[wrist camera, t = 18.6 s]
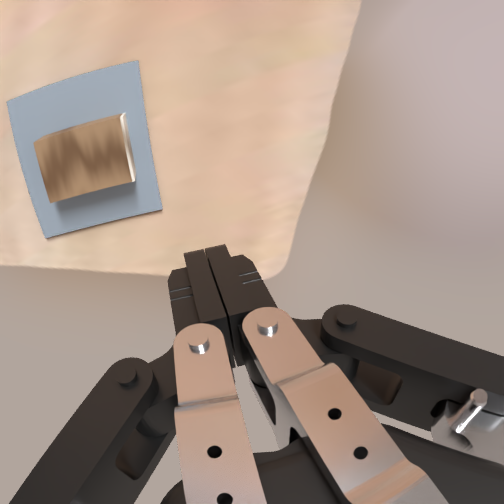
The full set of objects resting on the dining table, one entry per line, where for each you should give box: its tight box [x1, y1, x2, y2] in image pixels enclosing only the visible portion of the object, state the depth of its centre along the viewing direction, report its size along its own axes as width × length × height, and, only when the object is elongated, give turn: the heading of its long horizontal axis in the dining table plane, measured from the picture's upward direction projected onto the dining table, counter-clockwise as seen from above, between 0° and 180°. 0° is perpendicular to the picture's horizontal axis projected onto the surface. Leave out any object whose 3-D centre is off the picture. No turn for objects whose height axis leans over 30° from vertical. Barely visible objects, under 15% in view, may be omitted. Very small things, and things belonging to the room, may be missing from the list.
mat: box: [7, 61, 163, 238], centre depth 31 cm, size 18×16×1 cm
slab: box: [33, 113, 136, 203], centre depth 30 cm, size 7×4×10 cm
